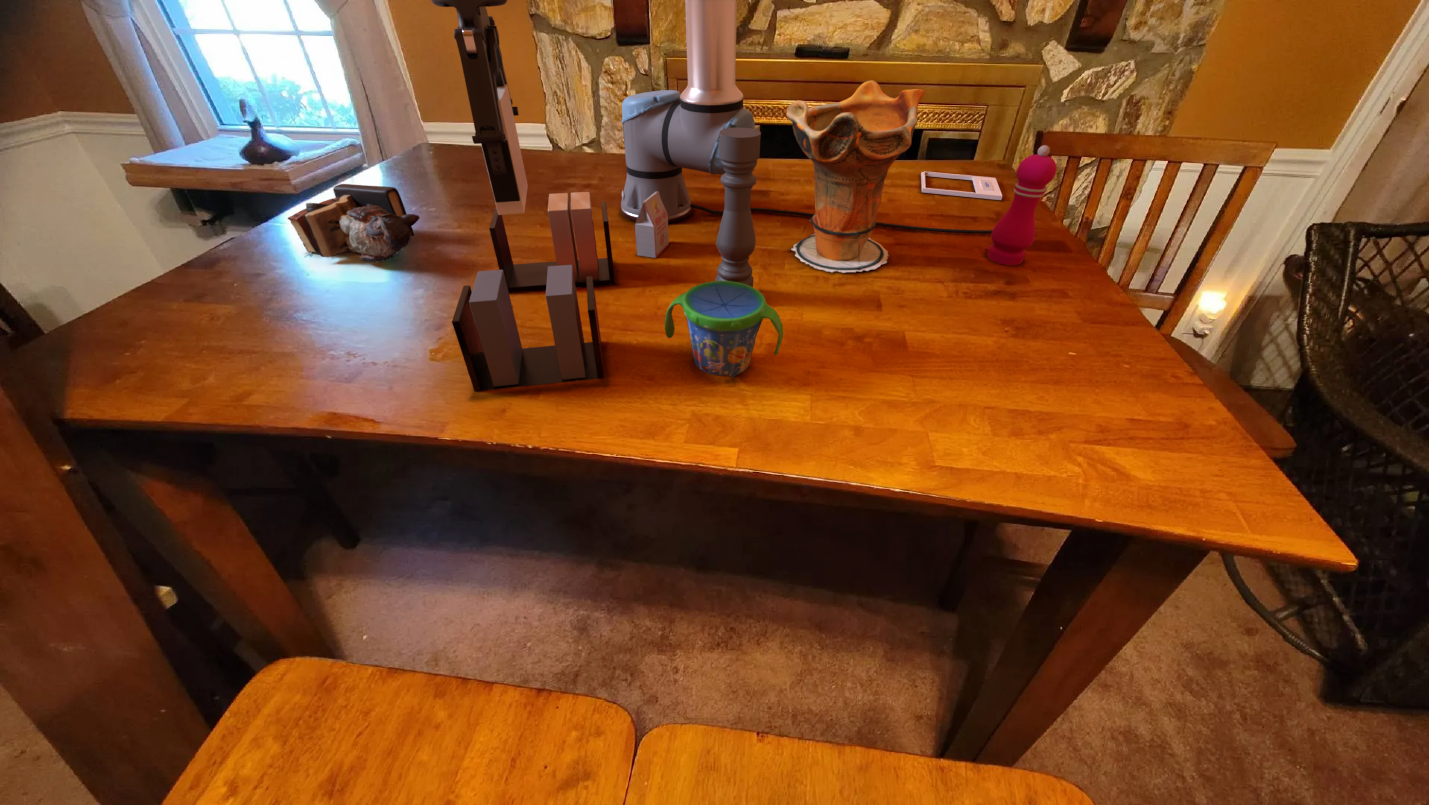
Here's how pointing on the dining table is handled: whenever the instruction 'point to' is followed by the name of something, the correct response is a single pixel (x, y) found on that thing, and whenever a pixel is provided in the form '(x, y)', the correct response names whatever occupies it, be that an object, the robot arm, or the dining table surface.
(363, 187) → the bookend
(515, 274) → the black rack
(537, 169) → the dining table surface
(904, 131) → the decorative vase
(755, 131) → the candle holder
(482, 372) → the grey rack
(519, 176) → the white book
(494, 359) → the grey book
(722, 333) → the snack cup
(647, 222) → the milk carton
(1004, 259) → the pepper mill
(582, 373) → the grey book
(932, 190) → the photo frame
